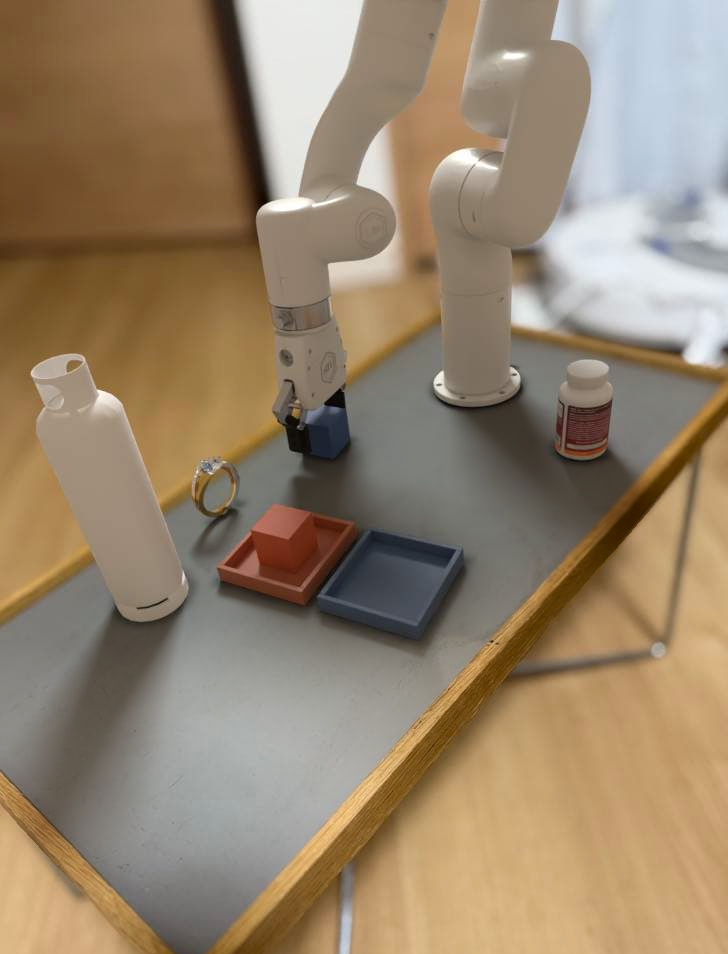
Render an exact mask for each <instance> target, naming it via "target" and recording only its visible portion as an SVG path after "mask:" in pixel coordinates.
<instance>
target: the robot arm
mask: <svg viewBox="0 0 728 954" xmlns="http://www.w3.org/2000/svg"><path fill="white" fill-rule="evenodd" d="M448 4H449V0H363V1H362V5H361V9H360V15H359V18H358V22H357V23H358V24H357V27H356V32H355V35H354V39H353V44H352V49H351V52H350V57H349V60H348V64H347V67H346V70H345V72H344V74H343V76H342V78H341V80H340V81H339V83H338V85H337V86H336V88H335V90H334V91H333V94H332V95H331V97H330V99H329V100H328V103H327V104H326V107H325V109H324V110H323V111H322V114H321V116H320V118H319V120H318V122H317V124H316V126H315V128H314V131H313V133H312V136H311V138H310V143H309V144H308V147H307V148H308V149H307V152H306V156H305V161H304V165H303V170H302V174H301V178H300V184H299V189H298V196H293V197H284V198H279V199H275V200H272V201H269V202H267V203H265V204H263V205H262V206H261V207H260V208H259V209H258V211H257V213H256V217H255V227H256V232H257V238H258V245H259V251H260V257H261V262H262V268H263V274H264V280H265V287H266V292H267V298H268V303H269V309H270V316H271V320H272V327H273V330H274V333H273V345H274V346H273V347H274V349H273V350H274V362H275V372H276V373H275V374H276V381H277V387H278V394H277V396H276V398H275V401H274V403H273V405H272V407H271V413H272V414H273V416H274V417H275V418H276V420H277V423H278V424H280V425H281V426H282V427H283V428H285V432H286V438H287V445H288V449H289V451H291V452H294V453H298V454H302V455H310V453H311V452H312V449H311V442H310V435H309V429H308V426H305V422H306V417H307V413H308V410H309V411H314V410H316V409H317V408H319V407H320V406H321V405H324V406H331V407H338V408H344V409H346V410H347V405H346V396H345V395H346V394H345V389H346V385H347V384H346V380H347V378H348V371H347V365H346V364H347V357H348V351H347V350H345V349H344V345H343V344H344V343H343V340H342V335H341V330H340V326H339V323H338V319H337V317H336V314H335V311H334V308H333V298H332V290H331V288H332V287H331V282H330V281H331V279H330V272H329V271H330V270H329V265H330V264H334V263H344V262H346V263H347V262H357V261H364V260H368V259H372V258H374V257H375V256H377V255H379V254H381V253H382V252H383V251H385V250H386V249H387V247H388V246H389V245H390V244H391V242H392V240H393V238H394V237H395V233H396V230H397V216H396V213H395V209H394V207H393V206H392V204H391V203H390V201H389V200H388V199H387V198H386V197H385V196H384V195H383V194H381V193H380V192H378V191H377V190H374V189H371V188H369V187H364V186H362V185H359V184H357V183H358V178H359V174H360V171H361V168H362V165H363V161H364V159H365V157H366V154H367V152H368V150H369V148H370V146H371V144H372V142H373V141H374V139H375V138H376V136H377V135H378V134H379V132H380V131H381V130H382V129H383V128H384V127H385V126H386V125H387V124H388V123H389V122H390V121H391V120H393V119H394V118H395V117H397V116H398V115H400V114H401V113H402V112H404V111H405V110H406V109H407V108H409V107H410V106H411V105H412V104H413V103H414V102H416V101H417V99H419V98H420V96H421V95H422V93H423V92H424V89H425V86H426V83H427V80H428V75H429V72H430V68H431V65H432V62H433V58H434V54H435V50H436V47H437V44H438V39H439V36H440V33H441V29H442V25H443V21H444V19H445V14H446V11H447V8H448ZM559 4H560V0H480V3H479V9H478V14H477V17H476V18H477V19H476V24H475V26H474V27H475V28H474V33H473V37H472V40H471V41H472V42H471V46H470V51H469V55H468V60H467V65H466V69H465V73H464V77H463V82H462V83H463V84H462V90H461V96H460V112H461V113H460V114H461V117H462V119H463V121H464V123H465V124H466V126H467V127H468V128H470V129H471V130H472V131H474V132H476V133H478V134H481V135H484V136H487V137H492V138H496V139H503V140H506V141H505V146H504V150H503V151H499V150H493V149H488V148H482V147H467V148H461V149H459V150H455V151H454V152H452V153H450V154H448V155H447V156H446V157H445V158H444V159H442V161H441V162H440V163H439V164H438V166H437V167H436V168H435V171H434V172H433V175H432V177H431V179H430V184H429V185H430V186H429V191H428V204H429V205H428V207H429V212H430V219H431V223H432V228H433V232H434V237H435V242H436V248H437V256H438V257H437V258H438V270H439V271H438V272H439V297H440V298H439V299H440V300H439V301H440V319H441V321H440V323H441V344H442V345H441V347H442V369H443V370H441V371H440V372H439V373H438V374H437V375H436V376H435V377H434V379H433V383H432V385H433V392H434V394H435V396H436V397H437V398H438V399H440V400H442V401H443V402H445V403H447V404H449V405H453V406H457V407H465V408H478V407H479V408H480V407H481V408H482V407H488V406H493V405H497V404H500V403H503V402H505V401H507V400H509V399H511V398H512V397H513V396H515V395H516V394H517V393H518V392H519V390H520V388H521V382H522V381H521V374H520V373H519V371H518V370H516V369H515V368H514V367H513V366H511V346H512V339H511V336H512V301H513V300H512V295H513V257H512V250H511V249H514V250H515V249H516V250H517V249H524V248H527V247H531V246H533V245H534V244H535V243H537V242H538V241H540V240H541V239H542V238H543V237H544V236H545V235H546V233H547V232H548V231H549V229H550V228H551V227H552V224H553V223H554V221H555V219H556V217H557V214H558V212H559V209H560V207H561V203H562V201H563V199H564V195H565V191H566V189H567V185H568V181H569V178H570V176H571V172H572V168H573V165H574V162H575V158H576V155H577V151H578V148H579V145H580V142H581V141H580V140H581V138H582V135H583V132H584V128H585V125H586V122H587V121H586V120H587V118H588V113H589V109H590V106H591V105H590V104H591V97H592V77H591V71H590V66H589V64H588V61H587V59H586V57H585V56H584V53H583V52H582V50H580V49H579V48H578V47H577V46H576V45H574V44H572V43H570V42H567V41H564V40H561V39H552V36H553V31H554V26H555V21H556V17H557V12H558V8H559ZM297 400H298V402H296V401H297ZM294 409H295V410H298V414H297V415H298V416H297V417H295V416H294V415H293V412H294Z"/></svg>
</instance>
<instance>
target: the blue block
mask: <svg viewBox="0 0 728 954" xmlns="http://www.w3.org/2000/svg"><path fill="white" fill-rule="evenodd" d="M349 425H350V424H349V419H348V412H347V408H346V409H344V408H338V407H331V406H324V404H322V405H321V406H320V407H319V408H317V409H316V410H314V411H309V410H308V413H307V417H306V422H305V426H308V429H309V435H310V442H311V449H312V452H311V453H310V454H309V455H311V456H316V457H320V458H326V459H331V460H334V459H336V457H337V456H338V455H339V454H340V453H341V451H342V450H343V449H344V448H345V447H346V446H347V445H348V444H349V443H350V441H352V439H351V433H350V432H351V431H350V426H349Z"/></svg>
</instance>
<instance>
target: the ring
mask: <svg viewBox="0 0 728 954" xmlns="http://www.w3.org/2000/svg"><path fill="white" fill-rule="evenodd" d="M221 469H222V470H224V471H225V472H226V473H227V475H228V477H229V480H230V492H229V495H228V497H227V499H226V501H225V502H224V503H223V504H222V503H221V504H219V505H218V506H217V508H216V509H214V510H213V509H212V510H207V508H206V507H205V505H204V497H205V493H206V490H207V488H208V486H209V484H210V482H211V480H212V479H213V477H214V475H215V474H217V472H218V471H220V470H221ZM202 474H203V475H206V474H207V475H206V476H205V477H204V478H203V479H202V481H201V482H200V479H201V476H202ZM240 481H241V479H240V475H239V473H238V470H237V468H236V467H235V465H233V464H232V463H231V462H229V461H226V460H223V461H221V455H220V454H218V455H216V458H215V455H211V457H210V456H206V459H204V458H202V459H200V462H199V463H198V464H197V465H196V468H195V471H194V473H193V476H192V480H191V499H192V502H193V505H194V507H195V509H196V510H197V511H198V512H199V513H201V514H202V515H204V516H206V517H208V518H217V517H220V516H222V515H223V516H225V515H227V514H228V513H229V510H230V509H231V508H232V507H233V506H234V504H235V502H236V500H237V497H238V495H239V492H240V484H241V483H240Z"/></svg>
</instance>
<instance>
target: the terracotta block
mask: <svg viewBox="0 0 728 954" xmlns="http://www.w3.org/2000/svg"><path fill="white" fill-rule="evenodd" d="M312 513H313V512H312V511H308V510H304V509H300V508H296V507H291V506H288V505H287V506H286V505H282V504H279V503H273V504H272V505H271V506H270V508H269V509H268V510H267V511H266V512H265V513H264V514H263V515H262V516H261V517H260V518H259V520H258V521H257V522H256V523H255V524H253V526H252V527H251V528H250V530H249V531H251V534H252V538H253V542H254V545H255V549H256V553H257V556H258V560H259V563H260V564H263V565H266V566H270V567H273V568H277V569H281V570H284V571H288V572H291V573H295V574H297V573H298V571H299V570H300V569H301V568H302V566H303V565H304V564H305V563H306V561H307V560H308V559H309V558H310V556H311V555H312V554H313V553H314V551H315V550H316V549H317V548H318V541H317V536H316V531H315V526H314V521H313V516H312Z"/></svg>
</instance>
